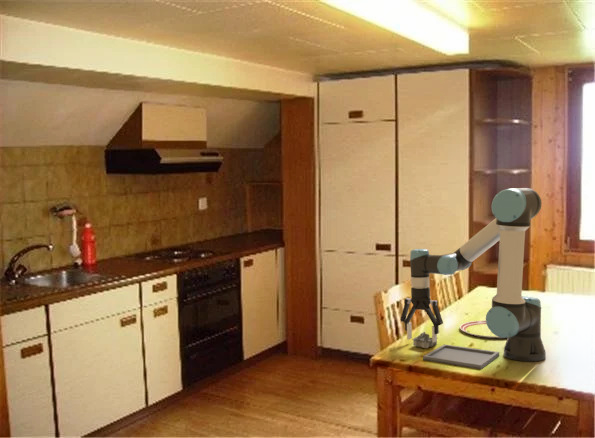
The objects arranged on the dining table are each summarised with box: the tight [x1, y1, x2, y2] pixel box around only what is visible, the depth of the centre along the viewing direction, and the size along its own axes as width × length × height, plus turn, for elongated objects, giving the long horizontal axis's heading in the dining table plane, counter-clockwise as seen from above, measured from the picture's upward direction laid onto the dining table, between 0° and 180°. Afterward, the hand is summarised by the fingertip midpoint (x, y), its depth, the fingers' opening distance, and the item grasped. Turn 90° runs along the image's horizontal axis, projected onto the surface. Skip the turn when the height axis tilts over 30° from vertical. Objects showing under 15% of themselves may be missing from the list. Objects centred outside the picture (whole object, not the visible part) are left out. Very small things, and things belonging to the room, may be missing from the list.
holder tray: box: [422, 344, 500, 370], centre depth 238 cm, size 22×20×2 cm
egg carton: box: [412, 331, 438, 349], centre depth 256 cm, size 11×8×4 cm
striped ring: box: [459, 320, 508, 339], centre depth 274 cm, size 27×27×3 cm
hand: (421, 340), depth 256 cm, fingers open, 10 cm apart
